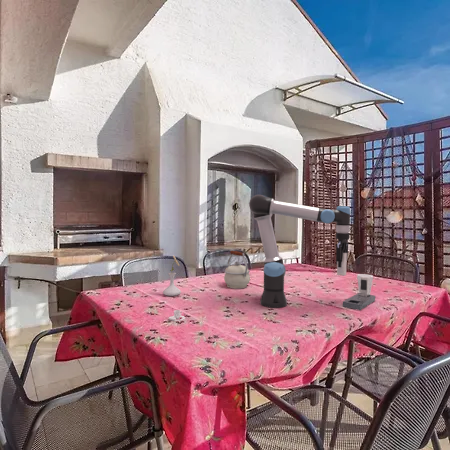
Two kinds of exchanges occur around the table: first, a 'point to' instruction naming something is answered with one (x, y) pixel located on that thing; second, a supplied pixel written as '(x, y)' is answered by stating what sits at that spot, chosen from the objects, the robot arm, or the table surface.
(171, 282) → the flower in vase
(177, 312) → the teacup and saucer
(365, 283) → the grey and white block
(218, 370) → the table surface
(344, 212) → the robot arm
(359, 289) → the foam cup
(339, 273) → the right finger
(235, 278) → the kettle
